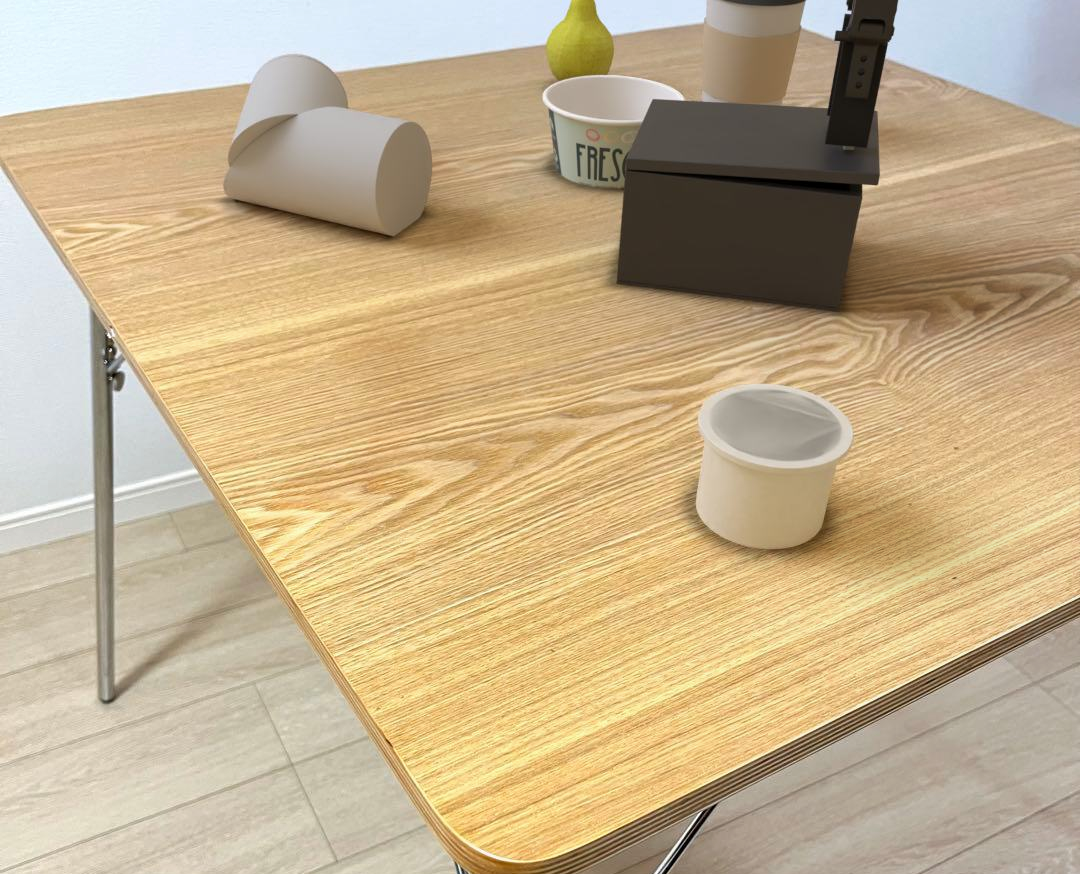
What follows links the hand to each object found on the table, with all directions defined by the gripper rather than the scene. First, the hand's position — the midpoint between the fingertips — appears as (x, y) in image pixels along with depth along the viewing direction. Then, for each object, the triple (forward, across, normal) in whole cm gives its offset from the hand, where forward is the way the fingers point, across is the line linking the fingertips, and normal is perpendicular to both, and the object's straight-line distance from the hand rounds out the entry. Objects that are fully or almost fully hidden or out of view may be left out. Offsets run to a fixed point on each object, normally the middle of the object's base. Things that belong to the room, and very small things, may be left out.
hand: (846, 128), depth 77 cm
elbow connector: (+11, -4, -40) cm, 42 cm away
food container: (+11, -16, -18) cm, 26 cm away
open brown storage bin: (+11, 0, -6) cm, 13 cm away
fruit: (+11, -38, -25) cm, 47 cm away
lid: (+2, 0, -6) cm, 6 cm away
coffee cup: (+11, -28, -8) cm, 32 cm away
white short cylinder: (+11, +30, -2) cm, 32 cm away
